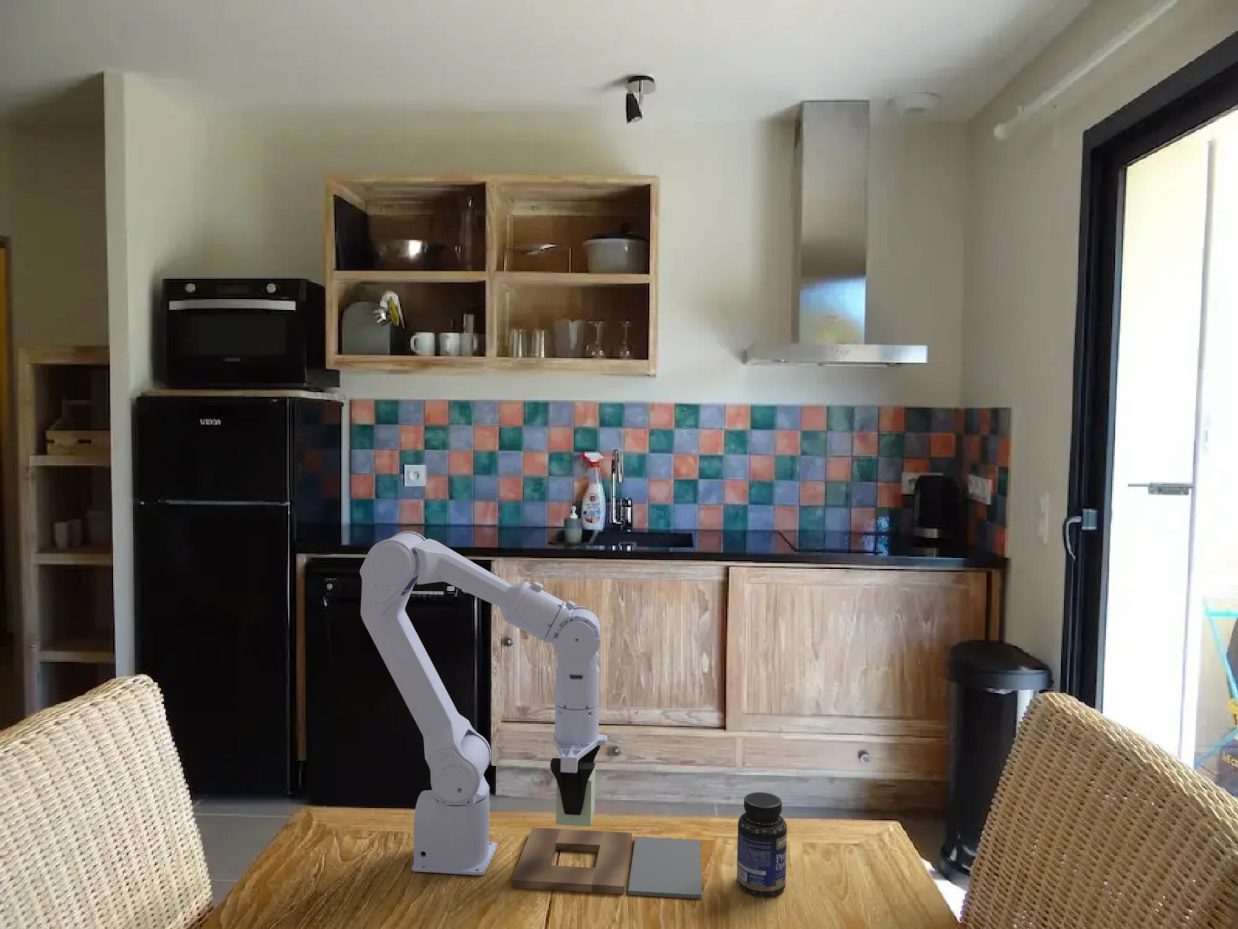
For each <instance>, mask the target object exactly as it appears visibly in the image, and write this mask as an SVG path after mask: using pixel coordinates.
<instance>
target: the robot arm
mask: <svg viewBox="0 0 1238 929" xmlns="http://www.w3.org/2000/svg"><path fill="white" fill-rule="evenodd" d="M359 574H360V577H361V598H360V599H361V600H360V617H361V619H362V622H363V624H364V625H365V626H364V627H365V628H366V629H367V631H368V633H369V635H370V637H371V639H372V641H373V643H374V645H375V646H376V649H377V650H378V653H379V654H380V656H381V659H382V660H383V662H384V664H385V666H386V668H387V669H388V670H387V671H388V672H389V673H390V676H391V678H392V679H393V681H394V683H395V685H396V688H397V689H398V691H399V693H400V694H401V696H402V699H403V700H404V703H405V705H406V706H407V708H408V710H409V713H410V714H411V716H412V717H413V719H414V721H415V723H416V726H417V728H418V729H419V731H420V733H421V735H422V737H423V747H424V748H423V749H424V759H425V761H426V763H427V765H428V767H429V768H428V769H429V770H430V786H431V789H429V790H422V791H421V792H420V794H419V795H418V798H417V801H416V804H415V809H414V816H413V817H414V818H413V865H412V866H411V871H412V872H420V873H435V874H436V873H437V874H450V875H452V874H454V875H466V876H467V875H470V876H484V875H485V873H486V872H487V869H488V868H489V866H490V863H491V861H492V859H493V857H494V854H495V853H496V850H497V848H498V843H497V842H494V841H490V785H489V783H488V782H487V780H486V778H485V776H484V774H485V773H486V772H485V771H486V770H487V769H488V767H489V765H490V764H491V760H492V749H491V746H490V744H489V742H488V741H487V739H486V738H485V737H484V736H483V735H481V734H480V733H478V732H477V731H476V730H475V729H474V727H473V726H472V725H471V722H470V720H468V719H467V718H465V717H464V716H463V715H461V714H460V713H459V712H458V711H457V708H456V706H455V704H454V702H453V701H452V699H451V697H450V695H449V693H448V691H447V689H446V687H445V685H444V683H443V681H442V680H441V678H440V675H439V673H438V672H437V669H436V668H435V666H434V664H433V662H432V660H431V657H430V656H429V655H428V652H427V651H426V648H425V647H424V645H423V643H422V641H421V639H420V637H419V635H418V632H416V630H415V628H414V625H413V623H412V622H411V620H410V618H409V615H408V614H407V612H406V606H407V605H408V604H407V603H408V601H409V599H410V596H411V593H412V591H413V588H414V586H415V584H416V585H425V584H432V583H441V582H444V583H447V584H449V585H451V586H453V587H455V588H458V589H459V590H461V591H464V592H466V593H468V594H470V595H473V596H474V597H477V598H479V599H480V600H482V601H485V602H488V603H490V604H492V605H494V606H496V607H498V608H499V609H500V612H501V614H502V618H503V620H504V621H505V622H506V623H508V624H510V625H512V626H514V627H515V628H517V629H519V630H522V631H524V633H525V632H526V633H527V634H529V635H531V636H533V637H535V638H537V639H539V640H540V641H543V642H545V643H546V644H553V646H554V649H555V651H556V653H557V666H556V668H555V693H554V694H555V700H554V702H555V703H554V734H553V736H552V737H553V739H552V742H553V745H554V747H555V748H556V750H557V753H558V755H559V756H560V757H552V758H551V760H550V765H549V766H550V771H551V772H552V774H553V777H554V778H555V780H556V784H557V783H558V786H559V790H560V794H561V800H562V805H563V809H564V813H565V814H566V815H581V812H582V808H583V804H584V798H585V792H586V786H587V782H588V780H589V777H590V775H591V773H592V771H593V769H594V767H595V768H596V762H595V759H596V756H597V754H598V752H599V751H600V749H601V746H605V745H606V746H607V744H608V735H607V734H601V733H599V731H600V730H599V729H600V728H599V727H600V725H599V723H600V722H599V721H600V718H599V717H600V715H599V714H600V672H601V671H600V667H599V663H600V654H599V649H600V647H601V646H600V645H601V639H600V638H601V631H602V629H601V628H602V627H601V623H600V621H599V618H598V617H597V615H596V614H595V613H594V612H592V611H591V610H589V608H588V607H586V606H581V605H576V603H575V602H573V601H572V600H570V599H569V600H568V602H566V601H564V600H562V599H560V598H558V597H557V596H555V595H552V594H551V593H549V592H547V591H546V590H543V588H544V584H542V583H540V582H539V581H534V582H533V584H531V583H530V582H528V581H521V582H519V583H515V584H511V583H510V582H508V581H506V580H504V579H502V578H500V577H499V576H497V575H496V574H494V573H492V572H491V571H488V570H487V569H485V568H483V567H482V566H480V565H479V564H476V563H474V562H473V561H472V560H470V559H468V558H466V557H464V556H463V555H461V554H460V553H458V552H456V551H454V550H453V549H451V548H449V547H447V546H445V545H444V544H443V543H441V542H439V541H438V540H435V539H431V538H428V539H427V538H426V537H425V536H423V535H422V534H420V533H418V532H416V531H413V530H412V531H410V530H404V531H401V532H398V533H396V534H394V535H393V536H392V537H389V538H388V539H387V538H386V539H384V540H381V541H378V542H377V543H375V544H374V545H373V546H372V547H371V548H370V549H369V551H368V553H367V555H366V557H365V559H364V561H363V564H362V565H361V567H360V570H359Z"/></svg>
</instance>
